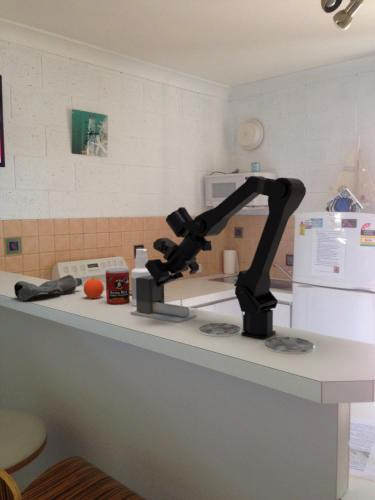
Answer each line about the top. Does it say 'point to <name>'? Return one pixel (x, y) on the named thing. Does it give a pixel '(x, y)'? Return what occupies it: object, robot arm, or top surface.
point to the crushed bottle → (46, 287)
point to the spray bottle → (139, 270)
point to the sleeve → (148, 294)
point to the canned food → (117, 286)
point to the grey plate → (167, 312)
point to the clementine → (93, 288)
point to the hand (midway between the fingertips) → (157, 285)
